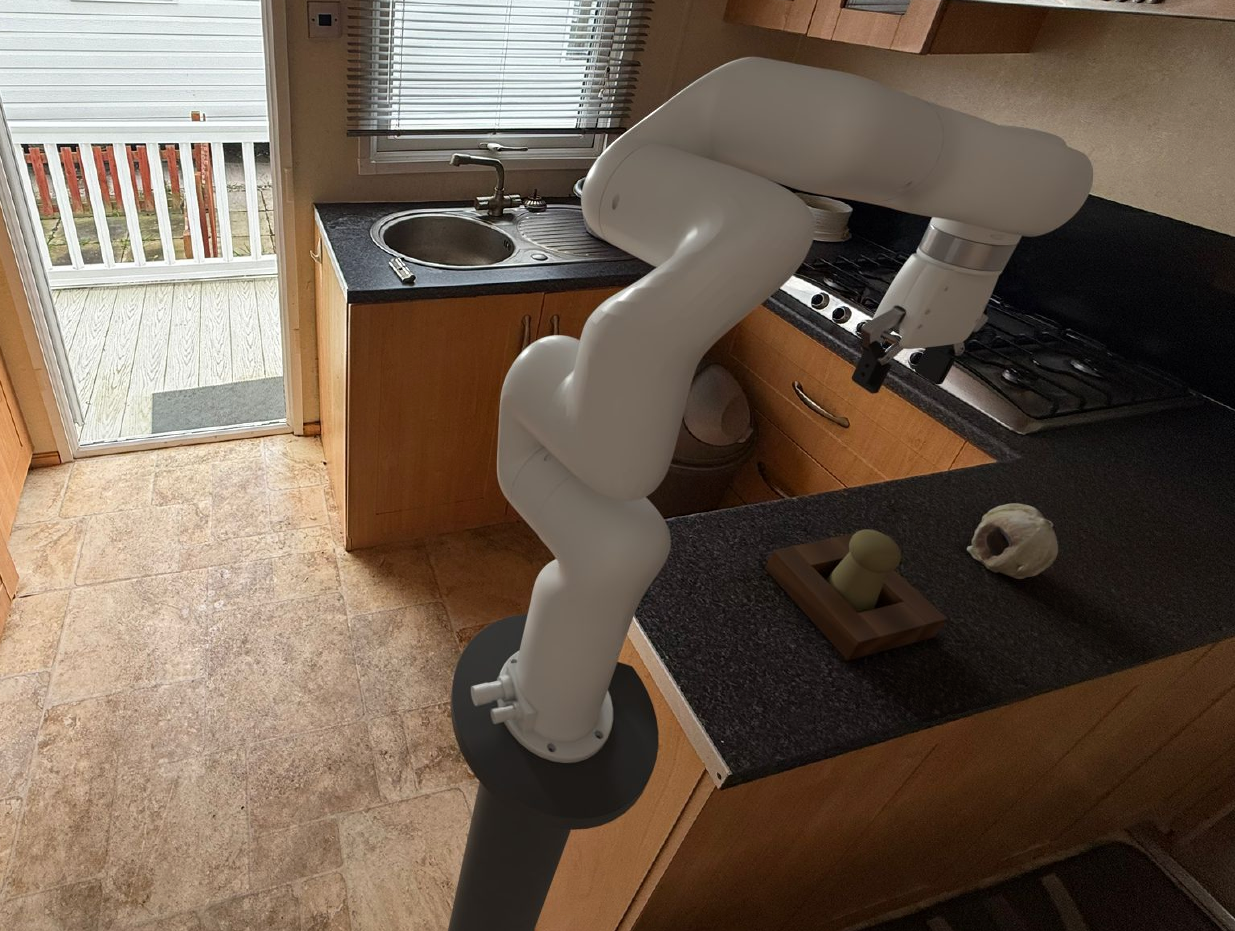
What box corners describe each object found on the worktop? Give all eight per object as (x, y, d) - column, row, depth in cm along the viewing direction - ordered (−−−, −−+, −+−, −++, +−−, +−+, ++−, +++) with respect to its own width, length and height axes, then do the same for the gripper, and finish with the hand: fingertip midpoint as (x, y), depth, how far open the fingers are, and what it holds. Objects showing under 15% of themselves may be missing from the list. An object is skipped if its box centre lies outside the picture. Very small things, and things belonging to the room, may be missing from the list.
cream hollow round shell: (968, 549, 97) (990, 486, 95) (1045, 579, 91) (1070, 513, 89) (959, 565, 91) (983, 498, 89) (1042, 598, 85) (1069, 527, 83)
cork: (824, 613, 83) (859, 552, 77) (814, 576, 88) (846, 516, 83) (878, 628, 81) (917, 566, 76) (864, 589, 87) (900, 529, 81)
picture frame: (847, 661, 77) (859, 642, 76) (764, 568, 89) (773, 550, 87) (934, 637, 81) (948, 618, 79) (844, 551, 92) (854, 533, 90)
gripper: (988, 231, 75) (922, 358, 83) (870, 238, 70) (812, 372, 79) (1060, 258, 69) (981, 392, 77) (935, 268, 64) (865, 409, 73)
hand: (896, 382), depth 78 cm, fingers open, 9 cm apart
